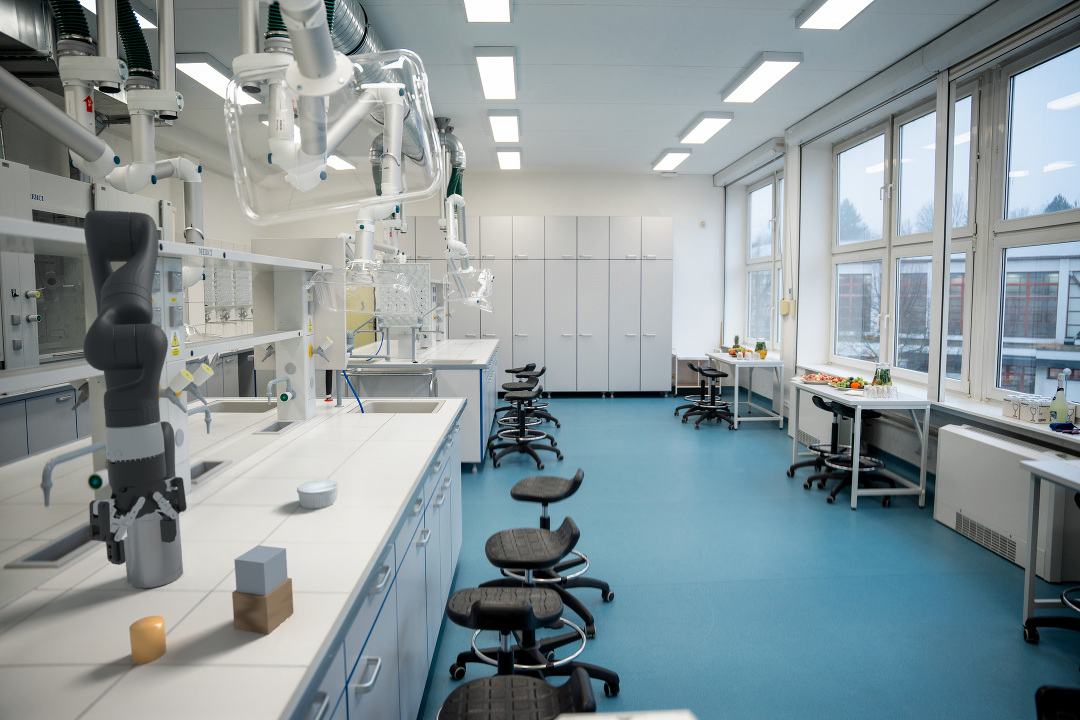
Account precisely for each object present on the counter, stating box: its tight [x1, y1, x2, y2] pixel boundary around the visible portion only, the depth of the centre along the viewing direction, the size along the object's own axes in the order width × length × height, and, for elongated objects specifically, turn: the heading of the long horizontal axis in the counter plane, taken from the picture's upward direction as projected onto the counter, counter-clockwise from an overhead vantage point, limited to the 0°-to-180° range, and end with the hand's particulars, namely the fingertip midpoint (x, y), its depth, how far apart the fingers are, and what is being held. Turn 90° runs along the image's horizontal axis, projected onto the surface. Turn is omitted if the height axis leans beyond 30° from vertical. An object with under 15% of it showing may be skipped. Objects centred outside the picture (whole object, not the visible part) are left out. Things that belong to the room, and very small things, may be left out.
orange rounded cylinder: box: [129, 615, 167, 665], centre depth 98 cm, size 5×5×6 cm
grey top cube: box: [234, 544, 289, 595], centre depth 107 cm, size 6×6×6 cm
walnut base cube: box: [231, 577, 294, 636], centre depth 108 cm, size 7×7×7 cm
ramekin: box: [296, 478, 340, 510], centre depth 168 cm, size 11×11×5 cm
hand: (144, 552), depth 94 cm, fingers open, 8 cm apart
